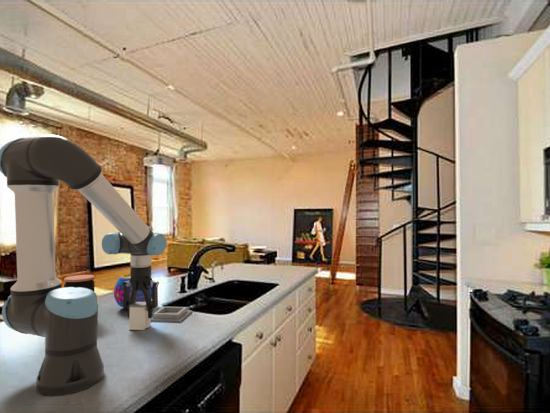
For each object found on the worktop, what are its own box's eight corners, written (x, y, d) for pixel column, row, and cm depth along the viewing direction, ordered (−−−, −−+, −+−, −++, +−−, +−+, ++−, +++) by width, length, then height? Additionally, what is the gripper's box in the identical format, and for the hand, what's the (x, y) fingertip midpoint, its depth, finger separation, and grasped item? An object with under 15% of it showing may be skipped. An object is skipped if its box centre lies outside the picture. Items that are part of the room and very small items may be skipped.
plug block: (143, 330, 123) (143, 305, 123) (129, 329, 124) (129, 305, 124) (150, 325, 129) (150, 302, 129) (136, 324, 129) (137, 301, 130)
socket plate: (180, 322, 132) (180, 316, 132) (146, 321, 134) (146, 315, 134) (192, 312, 146) (192, 306, 146) (161, 311, 147) (161, 305, 148)
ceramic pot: (147, 300, 165) (147, 270, 166) (159, 308, 151) (160, 275, 152) (109, 306, 154) (109, 274, 155) (119, 316, 140) (119, 280, 141)
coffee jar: (56, 324, 130) (57, 278, 130) (80, 316, 140) (80, 274, 140) (77, 327, 126) (78, 280, 127) (100, 319, 137) (100, 275, 137)
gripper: (168, 264, 130) (167, 323, 129) (123, 263, 132) (122, 322, 131) (159, 267, 122) (159, 330, 122) (112, 266, 124) (111, 328, 124)
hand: (140, 326), depth 126 cm, fingers closed on plug block, 5 cm apart
